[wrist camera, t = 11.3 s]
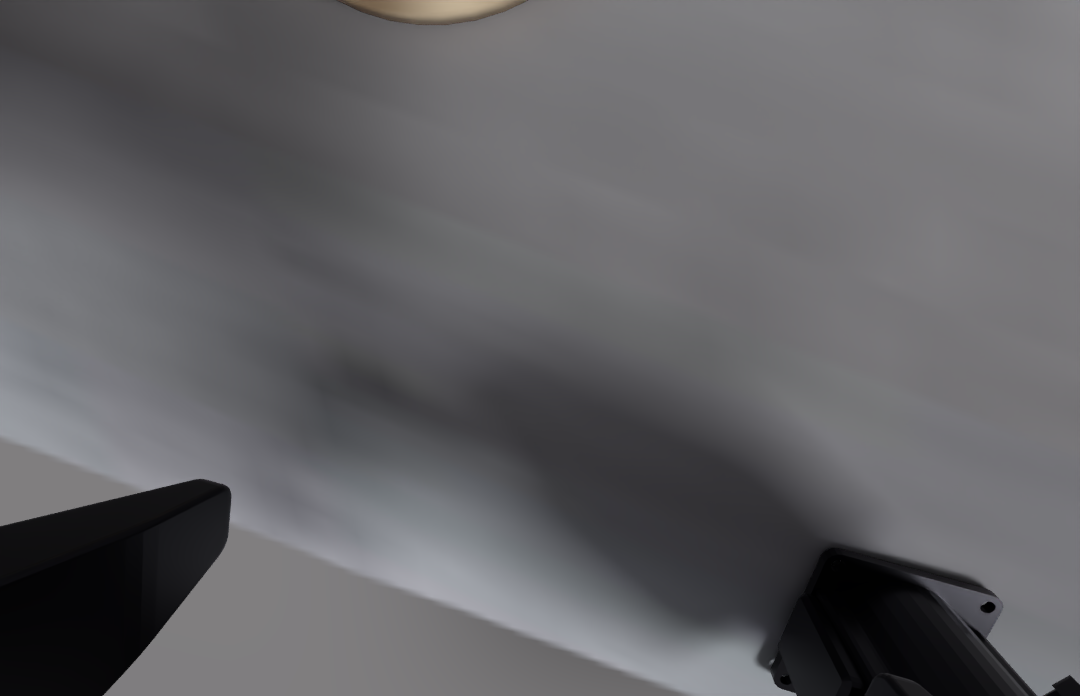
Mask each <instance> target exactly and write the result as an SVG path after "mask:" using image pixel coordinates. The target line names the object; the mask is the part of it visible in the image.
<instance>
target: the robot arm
mask: <svg viewBox="0 0 1080 696" xmlns="http://www.w3.org/2000/svg"><path fill="white" fill-rule="evenodd" d="M230 508H231V491H230V489H229V488H228V487H227V486H226V485H223V484H219V483H216V482H212V481H209V480H205V479H196V480H191V481H187V482H183V483H179V484H175V485H171V486H166V487H162V488H158V489H154V490H150V491H146V492H141V493H137V494H133V495H129V496H125V497H121V498H117V499H112V500H108V501H104V502H100V503H96V504H92V505H87V506H83V507H79V508H75V509H71V510H67V511H62V512H58V513H54V514H50V515H46V516H41V517H37V518H33V519H29V520H25V521H21V522H16V523H12V524H8V525H4V526H0V696H103V695H104V694H105V693H106V692H107V691H108V690H109V689H110V687H111V686H112V685H113V684H114V683H115V682H116V681H117V680H118V679H119V678H120V677H121V676H122V675H123V674H124V672H125V671H126V670H127V669H128V668H129V667H130V666H131V665H132V664H133V662H134V661H135V660H136V659H137V658H138V657H139V656H140V655H141V653H142V652H143V651H144V650H145V649H146V647H147V646H148V645H149V644H150V642H151V641H152V640H153V639H154V638H155V636H156V635H157V634H158V633H159V631H160V630H161V629H162V628H163V626H164V625H165V624H166V622H167V621H168V620H169V619H170V617H171V616H172V615H173V614H174V612H175V611H176V610H177V609H178V607H179V606H180V605H181V603H182V602H183V601H184V600H185V598H186V597H187V596H188V595H189V593H190V592H191V591H192V589H193V588H194V587H195V586H196V584H197V583H198V581H200V579H201V578H202V577H203V575H204V574H205V573H206V572H207V570H208V569H209V568H210V567H211V565H212V564H213V563H214V561H215V560H216V559H217V558H218V556H219V555H220V554H221V552H222V550H223V549H224V547H225V544H226V542H227V538H228V532H229V520H230ZM837 560H841V562H840V563H839V564H837V565H831V564H832V563H833V562H834V561H837ZM987 601H988V602H987ZM984 602H987V603H986V604H984V605H982V604H983V603H984ZM981 605H982V606H981ZM1002 609H1003V604H1002V602H1001V600H1000V599H999V598H998V597H997V596H996V595H995V594H994V593H993V592H992V591H990V590H988V589H985V588H982V587H978V586H974V585H971V584H967V583H963V582H960V581H956V580H952V579H949V578H945V577H941V576H938V575H934V574H930V573H927V572H923V571H919V570H916V569H912V568H908V567H905V566H901V565H897V564H894V563H890V562H886V561H883V560H879V559H876V558H872V557H868V556H865V555H861V554H857V553H854V552H850V551H846V550H843V549H839V548H831V549H828V550H826V551H825V552H823V554H822V555H821V557H820V559H819V561H818V564H817V566H816V568H815V570H814V573H813V575H812V577H811V579H810V582H809V584H808V586H807V588H806V591H805V593H804V594H803V595H802V596H801V597H799V599H798V601H797V603H796V606H795V608H794V610H793V612H792V615H791V617H790V619H789V621H788V624H787V626H786V628H785V631H784V633H783V635H782V637H781V640H780V642H779V644H778V648H779V652H778V654H777V656H776V659H775V661H774V663H773V665H772V668H771V674H772V677H773V680H774V683H775V684H776V685H777V686H778V687H779V688H781V689H784V690H787V691H791V692H794V693H796V694H797V696H1037V695H1036V694H1035V693H1034V692H1033V691H1032V690H1031V689H1030V687H1029V686H1028V685H1027V684H1026V683H1025V682H1024V681H1023V680H1022V678H1021V677H1020V676H1019V675H1018V674H1017V673H1016V672H1015V671H1014V669H1013V668H1012V667H1011V666H1010V665H1009V664H1008V663H1007V662H1006V660H1005V659H1004V658H1003V657H1002V656H1001V655H1000V654H999V653H998V651H997V650H996V649H995V648H994V647H993V646H992V645H991V644H990V642H989V641H988V640H987V639H986V638H987V636H988V634H989V633H990V631H991V629H992V627H993V626H994V624H995V622H996V620H997V619H998V617H999V615H1000V613H1001V612H1002ZM785 674H788V675H787V676H782V675H785ZM1052 686H1053V687H1054V688H1055V689H1054V690H1052V691H1051V692H1049V693H1047V694H1045V695H1044V696H1080V684H1079V683H1077V682H1076V681H1075V680H1074V679H1073V678H1072V677H1071V676H1070V675H1069V676H1068V677H1066V678H1064V679H1062V680H1060V681H1059V682H1057V683H1055V684H1053V685H1052Z"/></svg>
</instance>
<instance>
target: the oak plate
mask: <svg viewBox="0 0 1080 696" xmlns="http://www.w3.org/2000/svg"><path fill="white" fill-rule="evenodd" d="M338 1H340V2H342V3H344V4H346V5H348V6H350V7H353V8H355V9H357V10H359V11H361V12H364V13H367V14H370V15H373V16H377V17H380V18H383V19H386V20H390V21H396V22H403V23H409V24H416V25H449V24H455V23H462V22H468V21H475V20H479V19H482V18H485V17H488V16H492V15H495V14H498V13H501V12H504V11H507V10H509V9H511V8H513V7H515V6H517V5H519V4H521V3H524V2H526V1H528V0H338Z"/></svg>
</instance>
